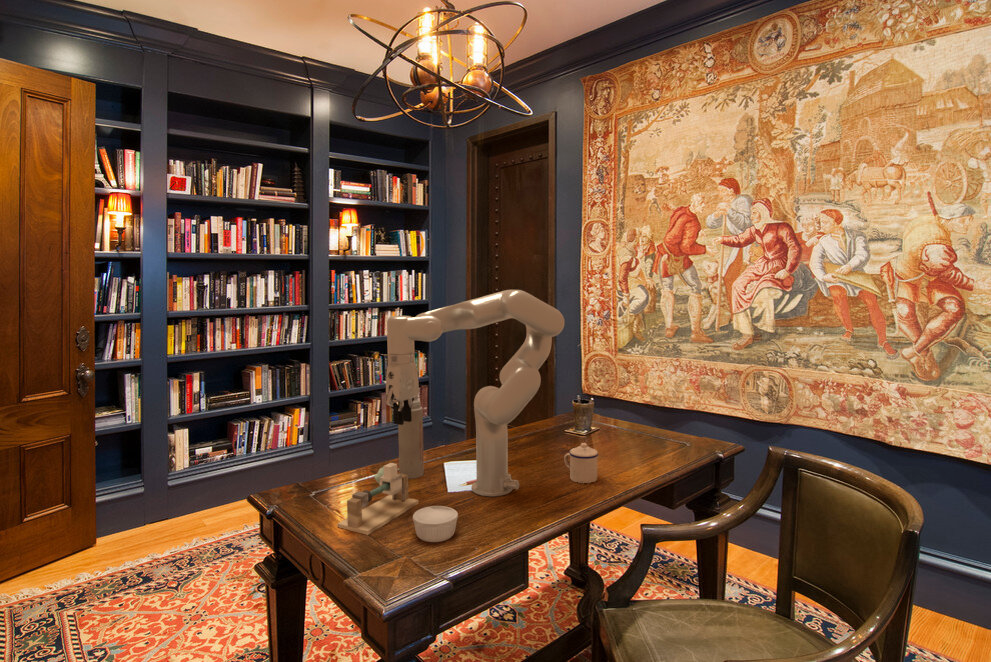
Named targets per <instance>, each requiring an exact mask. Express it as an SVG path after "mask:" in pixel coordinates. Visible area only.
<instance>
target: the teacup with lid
mask: <svg viewBox="0 0 991 662" xmlns="http://www.w3.org/2000/svg"><path fill="white" fill-rule="evenodd" d="M598 456H599V453H598V450H597V449H595V448H592V447H590V446H588V444H587V443H586V442H581V444H580V445H579V446H576V447H574V448H573V447H572V448H571V449H570V450H569V452H568V453H565V455H564V457H563V459H564V464H565V466H566V467H567V468H568V469H569V478H570V480H571V481H572V482H574V483H577V482H578V484H584V483H587V484H592V483H591V482H593V483H595V482H596V481H598ZM568 457H569V459H568Z"/></svg>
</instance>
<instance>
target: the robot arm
mask: <svg viewBox="0 0 991 662" xmlns="http://www.w3.org/2000/svg"><path fill="white" fill-rule="evenodd" d="M509 319H515V320H516V321H518V322H520V323H521V324H523V325H525V329H526V337H525V340H524V342H523V344H522V345H521V346H520V347H519V349H518V350H516V352H515V353H514V355H512V356H511V358H510V359H509V360H508V361H507V362H506V364H505V365H504V366H503V367H502V369H501V370H500V371H499V381H500V383H501V386H500V387H496V386H493V385H488V386H484V387H482V388H480V389H479V390H478V391H477V393H476V394H475V397H474V401H473V407H474V408H473V411H474V419H475V431H476V432H475V433H476V436H475V437H476V439H475V442H476V443H475V444H476V445H475V447H476V448H475V449H476V451H475V452H476V453H475V454H476V458H475V459H476V460H475V461H476V465H475V466H476V481H474V482H473V483H472V484H471V491H472V492H473V493H474V494H476V495H479V496H483V497H500V496H505V495H508V494H509V493H511V492H512V491H513V490H519V488H520V483H519V480H517V479H512V474H510V473H509V472H508V469H509V467H508V460H509V459H508V455H509V454H508V449H509V448H508V443H509V442H508V438H509V435H508V434H509V433H508V424H509V423H511V422H512V421H513V420H515V419H516V418H517V416H519V414H520V413H521V412H522V411H523V410H524V408H525V407H526V406H527V405H528V403H530V401H531V400H532V399H533V398H534V397H535V396H536V394H537V392H538V391H539V388H540V387H541V382H542V381H541V379H542V378H541V374H540V371H539V369H540V368H541V367H542V366H543V364H544V363H545V361H547V359H548V357H549V355H550V353H551V349H552V340H553V339H552V338H553V337H556V336H559V334H561V333H562V331H563V330H564V327H565V318H564V316H563V314H562V312H560V310H559V309H557V308H555V307H553V306H551V305H550V304H548V303H546V302H544V301H543V300H540V299H539V298H537V297H535V296H534V295H533V294H530V293H528V292H526V291H524V290H522V289H506V290H502V291H498V292H494V293H492V294H491V293H490V294H487V295H484V296H483V295H482V296H481V297H476V298H473V299H469V300H466V301H461V302H459V303H455V304H451V305H447V306H443V307H440V308H437V309H433V310H429V311H426V312H421V313H419V314H417V315H416V316H415V317H414V316H411V315H393V316H389V317H388V318H387V321H386V334H387V335H386V338H387V339H386V340H387V342H386V343H387V367H386V374H385V376H386V377H385V397H386V401H385V404H386V405H388V406H390V408H391V411H392V413H393V415H392V418H393V419H392V420H393V422H392V423H393V424H394V425H397V426H398V425H403V424H404V421H406V422H411V421H412V417H411V408H412V406H413V404H412V403H413V401H414V399H415V398H416V396H417V397H418V395H419V394H420V393H419V392H420V390H419V389H420V387H419V386H420V385H419V373H418V366H417V364H416V362H415V341H417V342H418V341H420V342H421V341H422V342H433V341H436V340H438V339H439V338H440V337H441V336H442V334H444V333H447V332H451V331H455V330H456V331H457V330H472V329H478V328H479V329H480V328H482V327H485V326H488V325H492V324H495V323H499V322H503V321H506V320H509ZM402 405H403V407H402Z"/></svg>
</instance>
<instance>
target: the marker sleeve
mask: <svg viewBox="0 0 991 662" xmlns="http://www.w3.org/2000/svg"><path fill="white" fill-rule="evenodd" d="M383 467H384V475H383V476H381V477H380V485H379V486H381V485H383V484H385V483H387V482H390V488H388V489H386V490H385V491H383V492H381V493H380V494H385V495H395V494H397V493H398V492H400V491H402V475H398V474H399V473H398V472H397V471H398V464H397V463H393V462H390V463H387V464H385V465H383Z"/></svg>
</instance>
